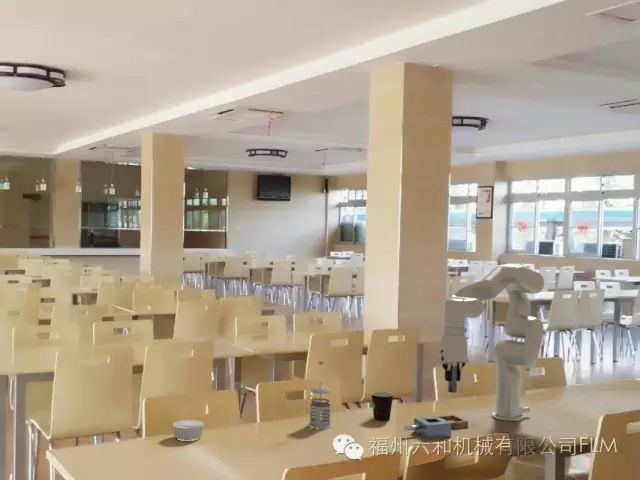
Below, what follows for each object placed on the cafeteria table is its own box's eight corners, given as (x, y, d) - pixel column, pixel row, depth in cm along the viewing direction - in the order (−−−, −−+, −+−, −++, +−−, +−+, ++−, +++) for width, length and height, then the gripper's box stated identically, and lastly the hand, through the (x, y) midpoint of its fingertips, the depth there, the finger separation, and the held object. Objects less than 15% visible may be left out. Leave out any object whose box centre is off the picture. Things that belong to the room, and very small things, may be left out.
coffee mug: (391, 422, 279) (391, 397, 279) (369, 420, 281) (370, 395, 281) (394, 415, 290) (394, 390, 290) (373, 413, 292) (373, 389, 292)
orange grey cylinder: (453, 390, 268) (454, 358, 268) (458, 392, 265) (459, 360, 265) (446, 390, 267) (447, 359, 267) (450, 392, 264) (452, 360, 264)
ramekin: (177, 444, 245) (177, 429, 245) (168, 436, 255) (168, 421, 255) (208, 440, 250) (208, 425, 250) (198, 432, 260) (198, 418, 260)
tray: (454, 420, 284) (454, 414, 284) (467, 427, 274) (467, 421, 274) (427, 422, 279) (427, 417, 279) (440, 429, 270) (440, 423, 270)
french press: (338, 426, 272) (339, 361, 272) (317, 431, 264) (318, 364, 264) (319, 421, 279) (320, 357, 279) (298, 426, 271) (299, 361, 270)
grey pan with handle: (437, 429, 271) (437, 416, 270) (450, 436, 261) (451, 423, 261) (398, 432, 265) (398, 419, 265) (411, 440, 255) (411, 426, 255)
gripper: (467, 330, 272) (465, 377, 272) (429, 330, 266) (428, 379, 266) (478, 332, 265) (476, 381, 265) (440, 333, 259) (438, 383, 259)
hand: (452, 380), depth 266 cm, fingers closed on orange grey cylinder, 3 cm apart
